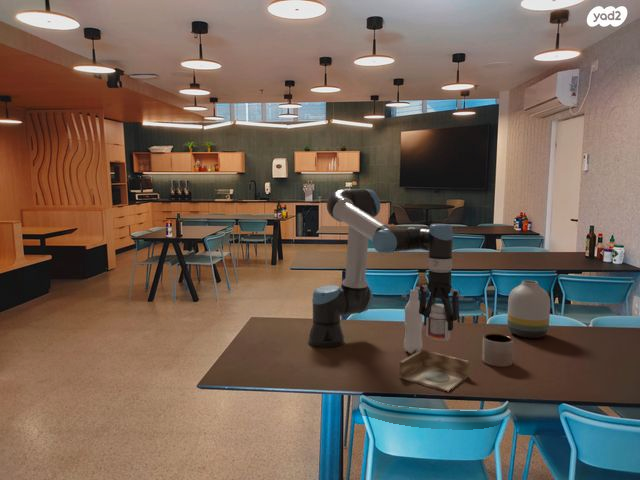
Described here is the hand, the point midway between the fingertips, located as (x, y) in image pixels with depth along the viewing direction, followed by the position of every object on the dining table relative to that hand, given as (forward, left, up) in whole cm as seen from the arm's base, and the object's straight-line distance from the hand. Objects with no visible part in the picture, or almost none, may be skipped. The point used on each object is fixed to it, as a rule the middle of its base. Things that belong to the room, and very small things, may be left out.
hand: (437, 337), depth 161 cm
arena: (-2, +1, -15) cm, 15 cm away
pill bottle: (0, 0, -1) cm, 1 cm away
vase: (+9, +70, -15) cm, 72 cm away
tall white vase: (-20, +19, -15) cm, 31 cm away
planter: (+10, +29, -15) cm, 34 cm away
